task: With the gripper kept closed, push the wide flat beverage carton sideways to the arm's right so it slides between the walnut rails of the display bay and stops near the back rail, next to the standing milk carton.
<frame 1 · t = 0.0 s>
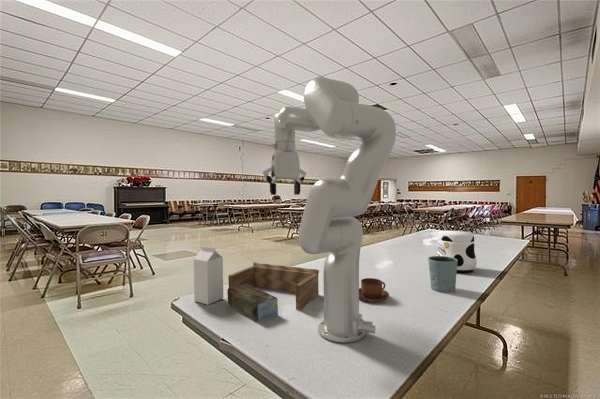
hand: (285, 194, 106), 37 cm above the table, tool pointing down, fingers open, 9 cm apart
milk container: (455, 269, 141), on the table
beverage carton: (251, 311, 94), on the table
teal cup: (442, 290, 112), on the table
cup and saucer: (371, 298, 104), on the table
display bay: (272, 296, 106), on the table
milk carton: (209, 300, 103), on the table
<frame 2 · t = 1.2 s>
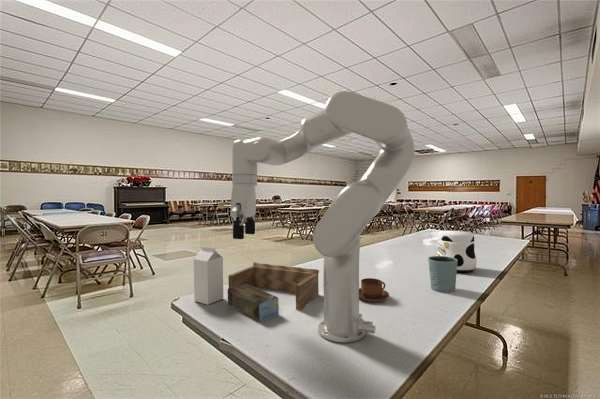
hand: (244, 236, 90), 25 cm above the table, tool pointing down, fingers open, 9 cm apart
nothing on the table moved.
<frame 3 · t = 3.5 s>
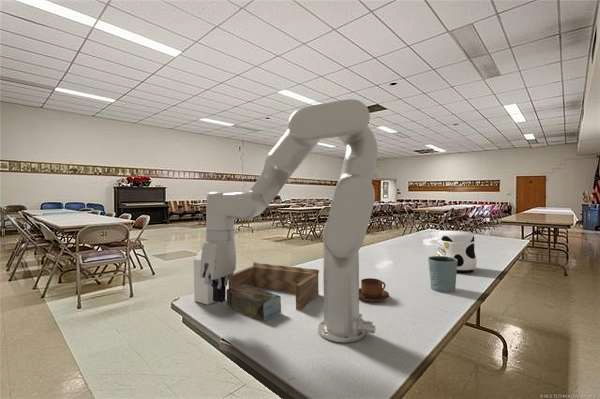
hand: (219, 300, 81), 8 cm above the table, tool pointing down, fingers closed
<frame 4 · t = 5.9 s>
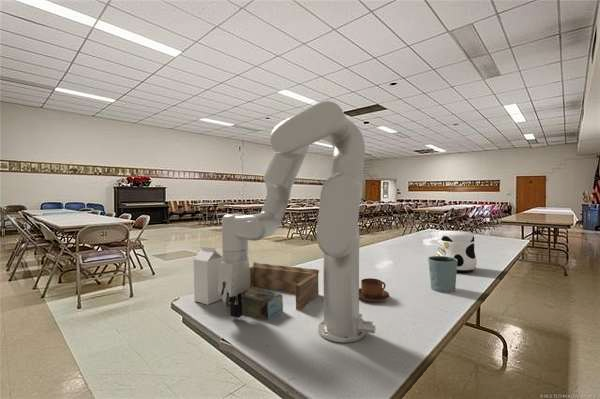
hand: (236, 315, 87), 1 cm above the table, tool pointing down, fingers closed
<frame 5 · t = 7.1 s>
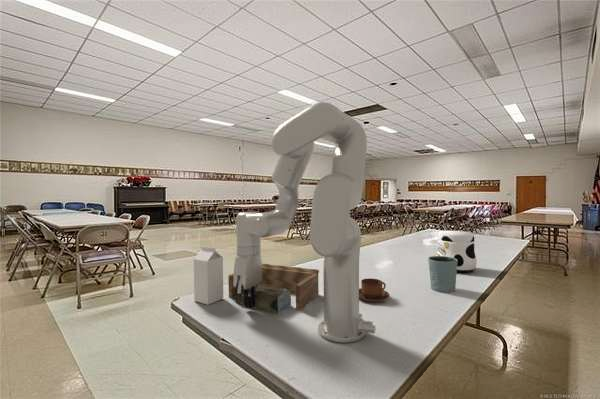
hand: (249, 307, 93), 1 cm above the table, tool pointing down, fingers closed
beverage carton: (262, 305, 99), on the table, touching gripper
everything else where it was.
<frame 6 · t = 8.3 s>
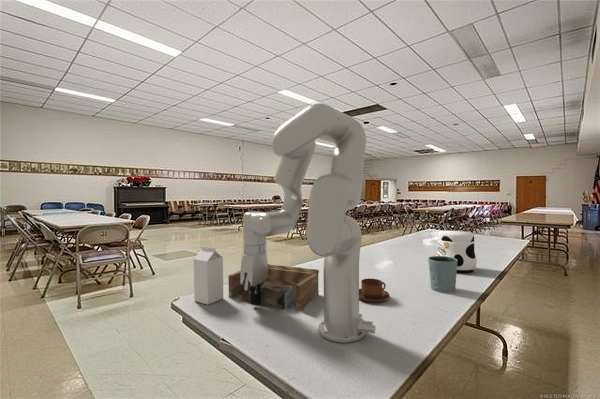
hand: (255, 303, 96), 1 cm above the table, tool pointing down, fingers closed
beverage carton: (268, 302, 102), on the table
everything else where it was.
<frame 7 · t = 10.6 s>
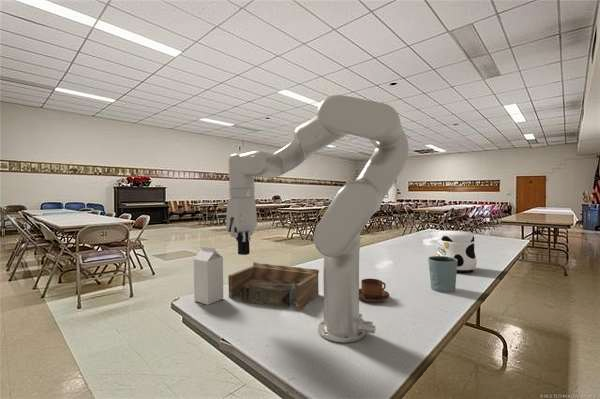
hand: (243, 254, 89), 19 cm above the table, tool pointing down, fingers closed
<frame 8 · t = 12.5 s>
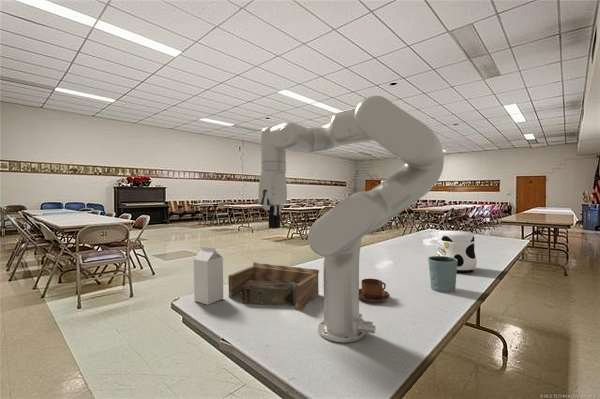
hand: (274, 227, 90), 27 cm above the table, tool pointing down, fingers closed
at the end: beverage carton inside the target area (2.6 cm from its centre), on the table; beverage carton moved 9.7 cm from its start; beverage carton on the table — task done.
